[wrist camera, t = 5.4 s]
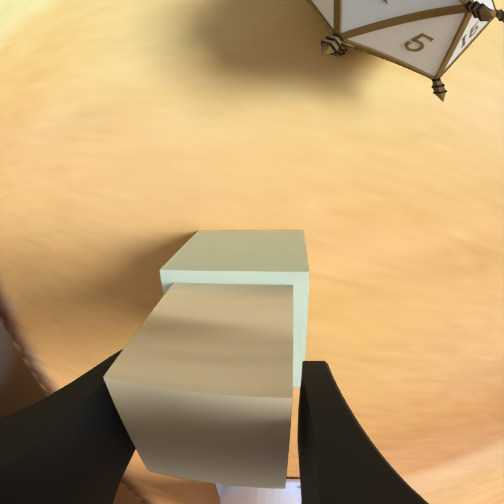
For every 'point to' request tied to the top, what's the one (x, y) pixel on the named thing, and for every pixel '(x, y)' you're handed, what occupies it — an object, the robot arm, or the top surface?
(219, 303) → the birch block
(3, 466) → the robot arm
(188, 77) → the top surface
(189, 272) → the base block
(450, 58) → the game die
